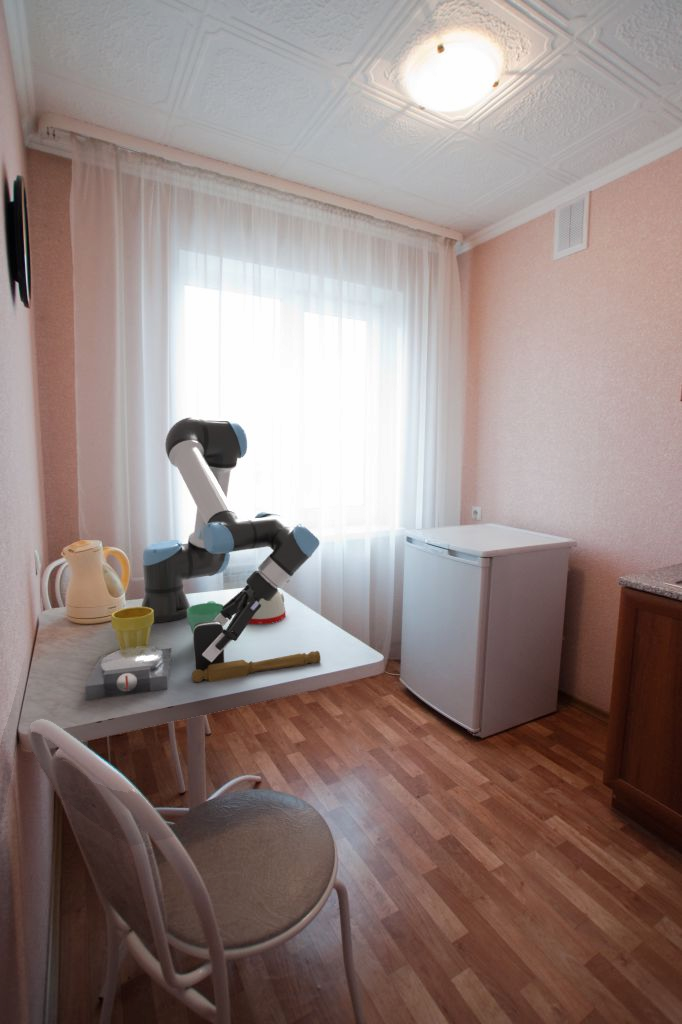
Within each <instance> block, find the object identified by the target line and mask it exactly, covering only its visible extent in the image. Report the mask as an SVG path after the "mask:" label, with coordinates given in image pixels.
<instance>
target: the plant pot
mask: <svg viewBox="0 0 682 1024" xmlns="http://www.w3.org/2000/svg"><path fill="white" fill-rule="evenodd" d="M110 617H111V619H110V620H111V628H112V629H113V630H114V631H115V635H116V638H117V643H118V646H119V649H120V650H122V649H126V648H131V647H139V646H149V639H150V634H151V628H152V625H153V624H154V623H155V622H154V611H153V609H151V608H149V607H141V606H132V607H125V608H121V609H118V610H115V611H114V612H112V613H111V616H110Z"/></svg>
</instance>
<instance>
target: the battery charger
mask: <svg viewBox="0 0 682 1024" xmlns="http://www.w3.org/2000/svg"><path fill="white" fill-rule="evenodd" d="M222 630H224V626H222V624H221V623H220V622H219V621H207V622H200V623H197V624H196V625H195V626H194V630H193V634H192V637H193V639H192V643H193V654H194V671H195V670H197V669H200V670H202V671H204V670H205V669H207V668H208V666H209V665H211V664H218V663H224V662H225V648H224V649H223V650H222V651H221V653H220V654H219V655H218V656H217V657H216V658H215V659H214V660H213V661H212V662H210V661H209V660H208V659H207V658H205V657H204V656H203V655H202V654H203V653H204V651H205V650H206V649H207V648H208V647H209V646H210V645H211V644H212V643H213V642H214V641H215V639H216V638H217V637H218V636H219V635H220V634H221V633H222V632H221V631H222Z"/></svg>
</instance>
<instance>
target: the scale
mask: <svg viewBox="0 0 682 1024" xmlns="http://www.w3.org/2000/svg"><path fill="white" fill-rule="evenodd" d="M172 660H173V654H172V648H171V647H170V648H169V647H168V648H161V649H160V648H158V647H156V646H149V645H148V646H139V647H131V648H126V649H122V650H116V651H113V652H111V653H110V654H107V655H106V654H105V655H101V656H99V659H98V661H97V663H96V664H95V667H94V669H93V670H92V671H91V672H92V673H91V675H90V676H89V678H88V680H87V682H86V684H85V686H84V688H85V697H86V698H85V699H86V701H89V700H95V699H103V698H110V697H118V696H124V695H125V696H126V695H133V694H134V695H135V694H139V693H148V692H155V691H163V690H168V689H169V682H170V681H169V680H170V676H171V669H172V662H173V661H172Z"/></svg>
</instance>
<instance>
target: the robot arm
mask: <svg viewBox="0 0 682 1024" xmlns="http://www.w3.org/2000/svg"><path fill="white" fill-rule="evenodd" d="M246 434H247V433H246V432H245V428H244V426H242V424H241V423H240V422H239V421H237V420H235V419H228V418H215V417H214V418H213V417H210V418H209V417H191V416H190V417H185V418H182V419H181V420H178V421H177V422H175V423H174V424H173V425H172V427H170V429H169V431H168V433H167V436H166V439H165V445H164V446H165V453H166V455H167V458H168V460H169V462H170V464H171V465H172V466H173V467H175V468H177V470H178V471H179V474H180V475H181V478H182V480H183V482H184V483H185V486H186V487H187V490H188V491H189V494H190V496H191V497H192V500H193V501H194V504H195V505H196V514H195V523H194V524H195V525H194V531H193V532H192V533H190V534H189V536H188V538H187V539H188V541H187V543H184V544H183V543H182V541H180V540H165V541H164V540H163V541H160V542H156V543H152V544H151V545H148V546H147V547H145V548H144V550H143V552H142V567H143V581H144V582H143V583H144V585H143V586H144V595H143V599H142V603H141V606H140V607H149V608H151V609H153V611H154V622H153V623H167V622H172V621H173V622H174V621H177V620H180V619H184V618H186V617H187V609H188V608H189V607H191V605H190V603H189V600H188V598H187V595H186V593H185V590H184V581H186V580H190V579H197V578H202V577H212V576H215V575H218V574H221V573H223V572H224V571H225V570H227V567H228V565H229V563H230V553H233V552H234V553H235V552H239V551H245V550H253V549H261V548H267V547H268V548H270V549H271V550H272V552H271V553H270V554H269V555H267V557H266V558H265V559H264V560H263V561H262V562H261V563H260V564H259V565H258V566H257V568H258V570H254V572H252V574H251V575H249V577H247V578H246V581H245V582H246V584H247V585H245V586H244V588H243V589H242V590H240V591H239V592H238V593H236V595H234V596H233V597H232V598H231V599H230V600H229V601H228V602H227V603H225V604H224V605H223V607H222V610H221V614H219V615H218V616H217V617H216V618H215V619H214V620H213V621H219V622H220V623H221V624H222V626H223V627H224V626H225V625H226V624H227V623H228V622H229V621H230V623H229V624H228V626H227V628H226V629H225V628H223V630H222V631H221V632H222V633H221V634H220V635H219V636H218V637H217V638H216V639H215V641H214V642H213V643H212V644H211V645H210V646H209V647H208V648H207V649H206V650H205V651H204V653H203V654H202V655H203V656H204V657H205V658H207V659H208V660H209V661H210V662H212V661H213V660H214V659H215V658H216V657H217V656H218V655H219V654H220V653H221V651H222V650H223V649H224V650H225V648H226V647H227V646H228V645H229V643H231V642H232V641H233V642H236V641H238V640H239V637H240V635H241V634H242V633H243V632H244V630H245V628H247V626H248V624H250V623H249V621H250V620H251V619H252V617H253V616H254V614H255V613H256V612H257V611H258V609H259V608H260V607H261V604H259V603H258V602H259V601H260V599H264V600H266V601H270V600H271V599H272V598H273V597H274V595H275V594H276V593H277V592H278V591H279V589H282V587H284V585H286V583H287V584H289V583H290V581H291V580H290V579H291V578H292V577H293V576H294V574H295V573H296V572H297V571H298V570H299V569H300V568H301V567H302V566H303V565H304V564H305V563H306V561H308V559H310V558H311V557H312V556H313V554H314V552H315V551H316V550H317V549H318V548H319V546H320V540H319V538H318V537H317V536H316V535H314V533H313V532H311V531H310V530H309V529H308V528H307V527H306V526H305V525H303V524H301V523H299V524H297V525H296V526H295V527H292V526H291V525H290V524H289V523H288V522H287V521H286V520H284V518H283V517H282V516H280V515H278V514H277V513H276V512H274V511H273V510H269V509H267V510H262V512H260V513H258V514H256V516H255V517H254V518H247V519H239V518H238V516H237V515H236V513H235V511H234V509H233V508H232V505H231V504H230V502H229V501H228V498H227V497H228V490H229V485H230V477H231V471H232V469H233V470H234V468H236V467H237V463H238V459H242V458H243V457H244V456H245V455H246V454H247V450H248V440H247V435H246Z"/></svg>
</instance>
